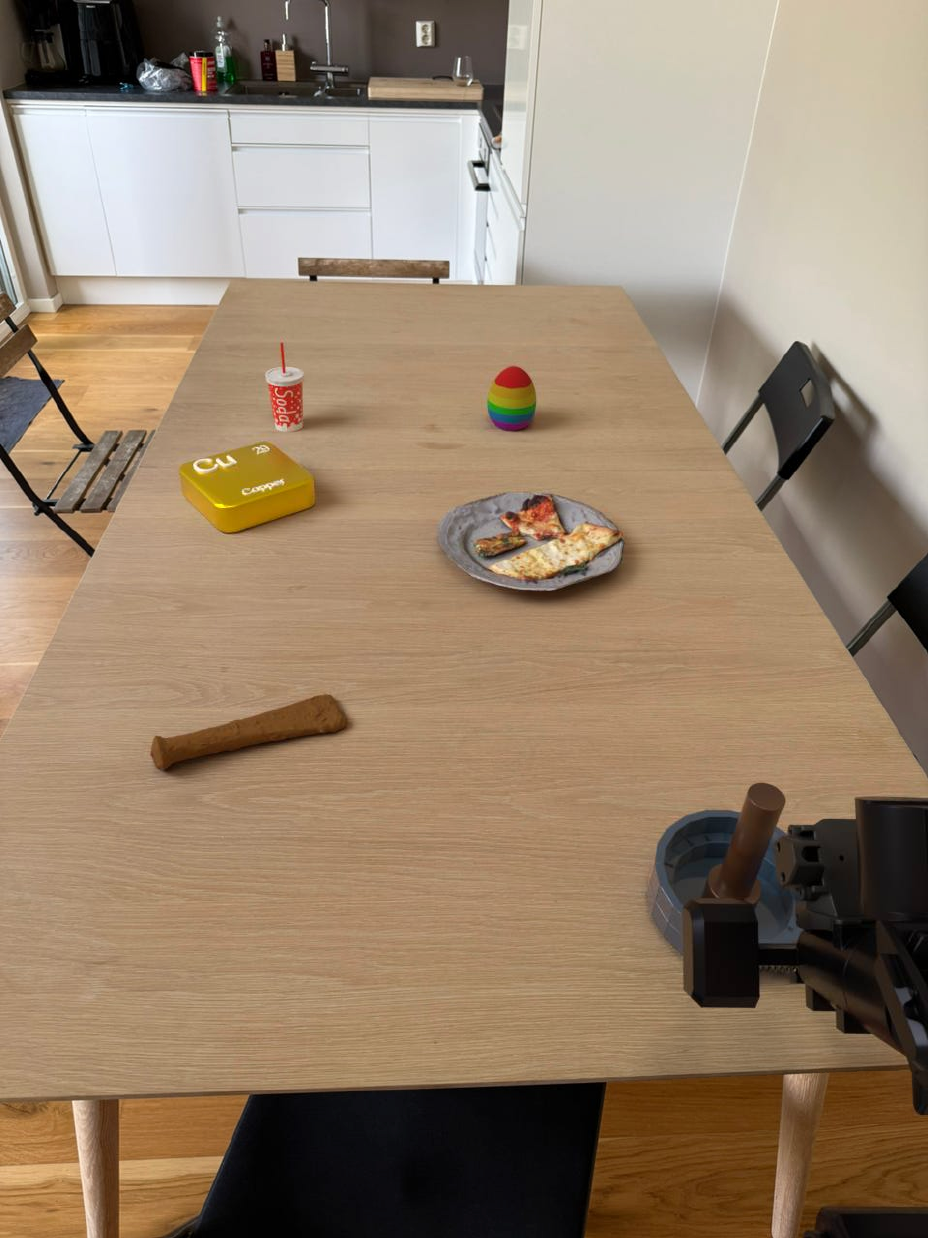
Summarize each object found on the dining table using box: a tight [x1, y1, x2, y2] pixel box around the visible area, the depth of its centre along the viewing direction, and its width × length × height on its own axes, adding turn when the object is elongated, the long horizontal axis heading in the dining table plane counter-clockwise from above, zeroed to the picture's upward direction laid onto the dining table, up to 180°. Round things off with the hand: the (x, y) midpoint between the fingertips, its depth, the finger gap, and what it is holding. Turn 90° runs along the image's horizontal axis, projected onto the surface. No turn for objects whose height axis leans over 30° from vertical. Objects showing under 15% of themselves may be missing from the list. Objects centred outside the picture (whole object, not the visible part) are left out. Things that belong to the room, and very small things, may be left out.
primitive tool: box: [149, 693, 348, 772], centre depth 89 cm, size 19×6×4 cm, turn 119°
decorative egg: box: [486, 365, 537, 431], centre depth 148 cm, size 8×8×10 cm
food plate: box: [436, 491, 626, 592], centre depth 119 cm, size 25×23×4 cm
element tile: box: [178, 441, 316, 534], centre depth 127 cm, size 15×15×5 cm
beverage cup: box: [264, 342, 305, 433], centre depth 143 cm, size 6×6×14 cm
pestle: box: [701, 782, 786, 911], centre depth 72 cm, size 4×4×14 cm
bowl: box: [645, 809, 806, 970], centre depth 75 cm, size 14×14×5 cm
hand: (782, 925), depth 64 cm, fingers open, 9 cm apart
